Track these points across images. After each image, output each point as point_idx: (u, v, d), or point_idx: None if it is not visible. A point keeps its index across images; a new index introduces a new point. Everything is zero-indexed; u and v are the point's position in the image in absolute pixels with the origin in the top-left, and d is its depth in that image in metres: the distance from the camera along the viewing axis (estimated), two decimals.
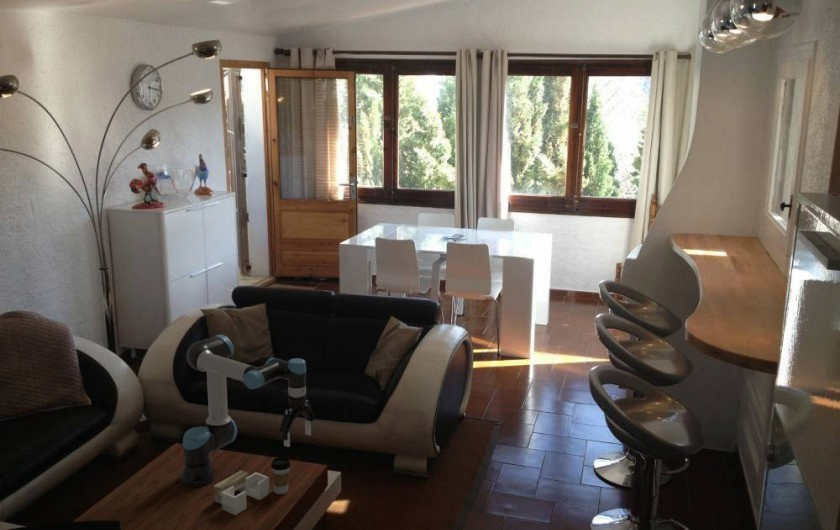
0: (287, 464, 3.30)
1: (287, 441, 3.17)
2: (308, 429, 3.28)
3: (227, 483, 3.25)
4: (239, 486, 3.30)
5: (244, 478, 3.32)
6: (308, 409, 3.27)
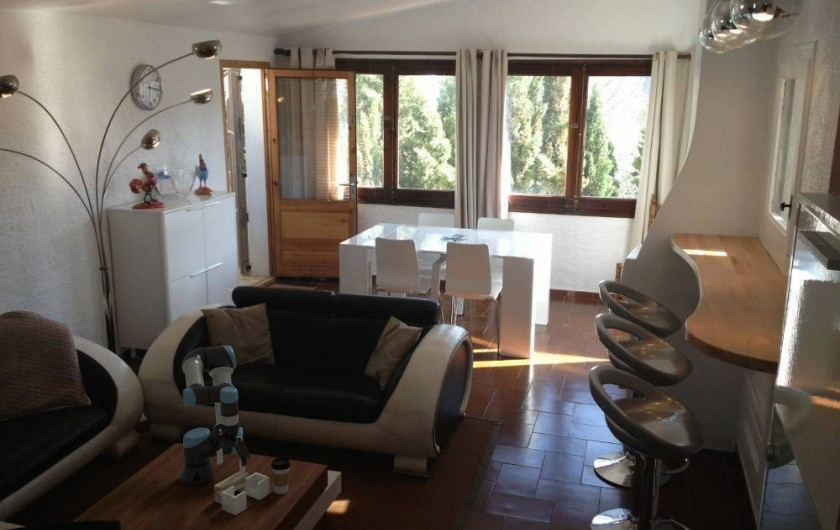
0: (287, 464, 3.30)
1: None
2: None
3: (227, 483, 3.25)
4: (239, 486, 3.30)
5: (244, 478, 3.32)
6: None
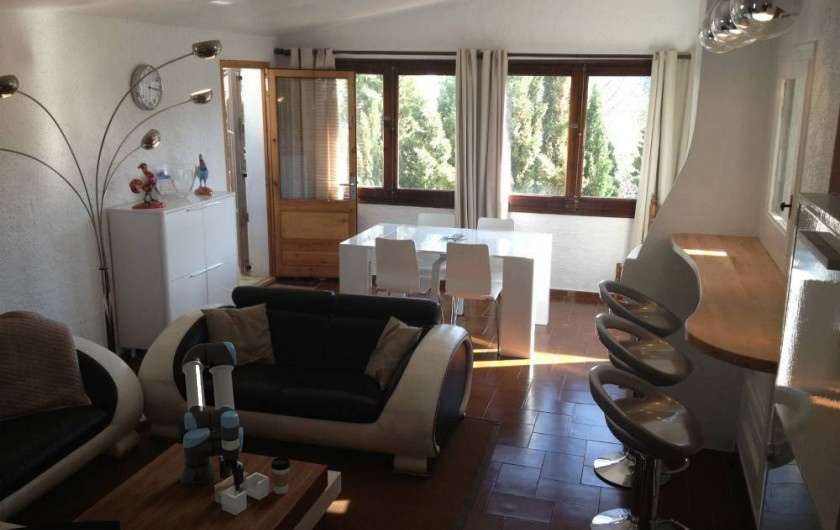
0: (287, 464, 3.30)
1: None
2: None
3: (227, 483, 3.25)
4: None
5: (244, 478, 3.32)
6: None
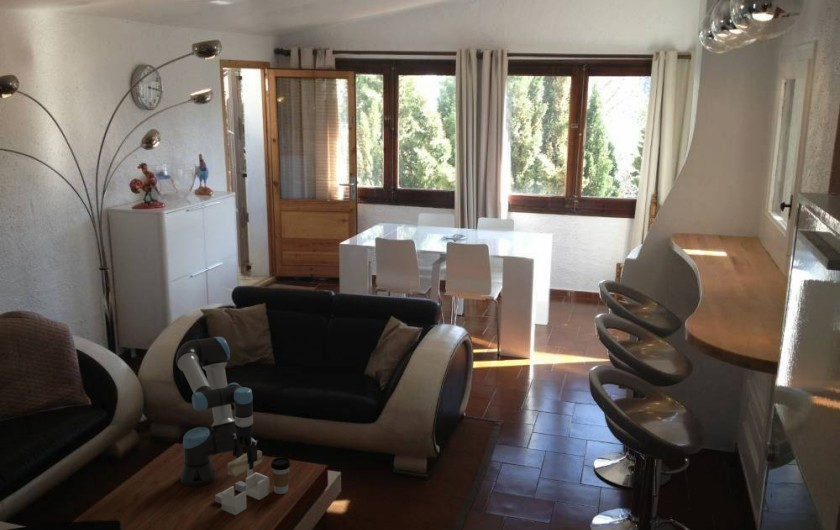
0: (287, 464, 3.30)
1: None
2: None
3: (240, 461, 3.17)
4: None
5: (258, 456, 3.25)
6: None
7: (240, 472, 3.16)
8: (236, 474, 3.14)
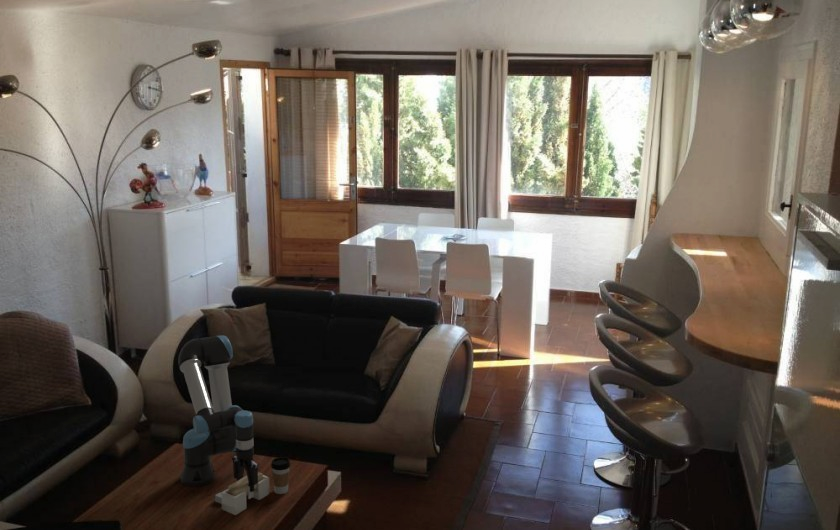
0: (287, 464, 3.30)
1: None
2: None
3: (241, 484, 3.20)
4: None
5: (258, 478, 3.27)
6: None
7: None
8: None
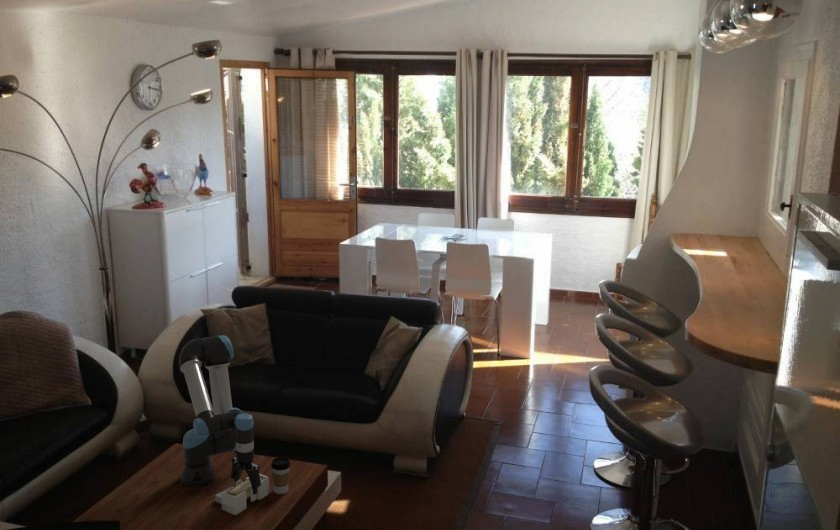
0: (287, 464, 3.30)
1: None
2: None
3: (241, 489, 3.20)
4: None
5: None
6: None
7: None
8: None
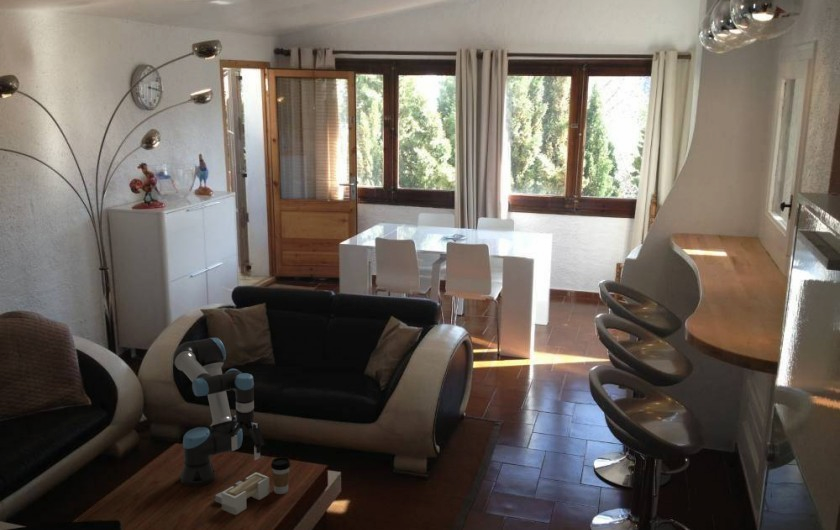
0: (287, 464, 3.30)
1: None
2: None
3: (241, 489, 3.20)
4: (253, 492, 3.26)
5: None
6: None
7: None
8: None
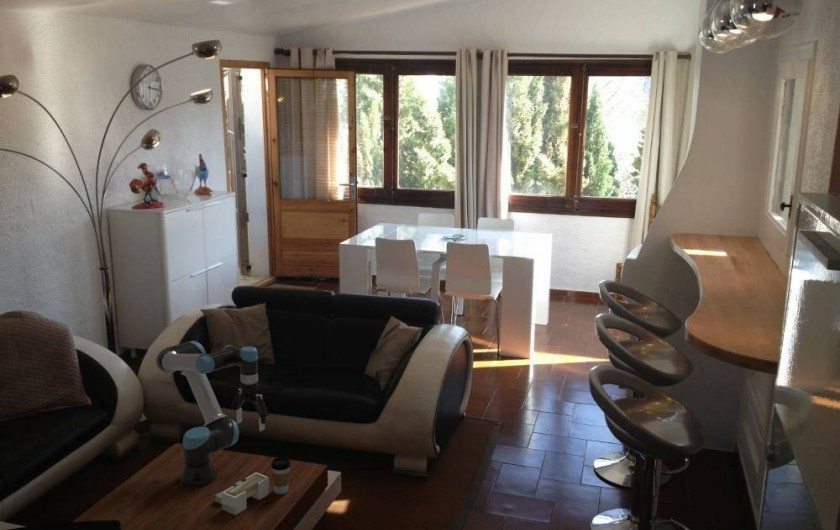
0: (287, 464, 3.30)
1: None
2: None
3: (241, 489, 3.20)
4: (253, 492, 3.26)
5: None
6: None
7: None
8: None
